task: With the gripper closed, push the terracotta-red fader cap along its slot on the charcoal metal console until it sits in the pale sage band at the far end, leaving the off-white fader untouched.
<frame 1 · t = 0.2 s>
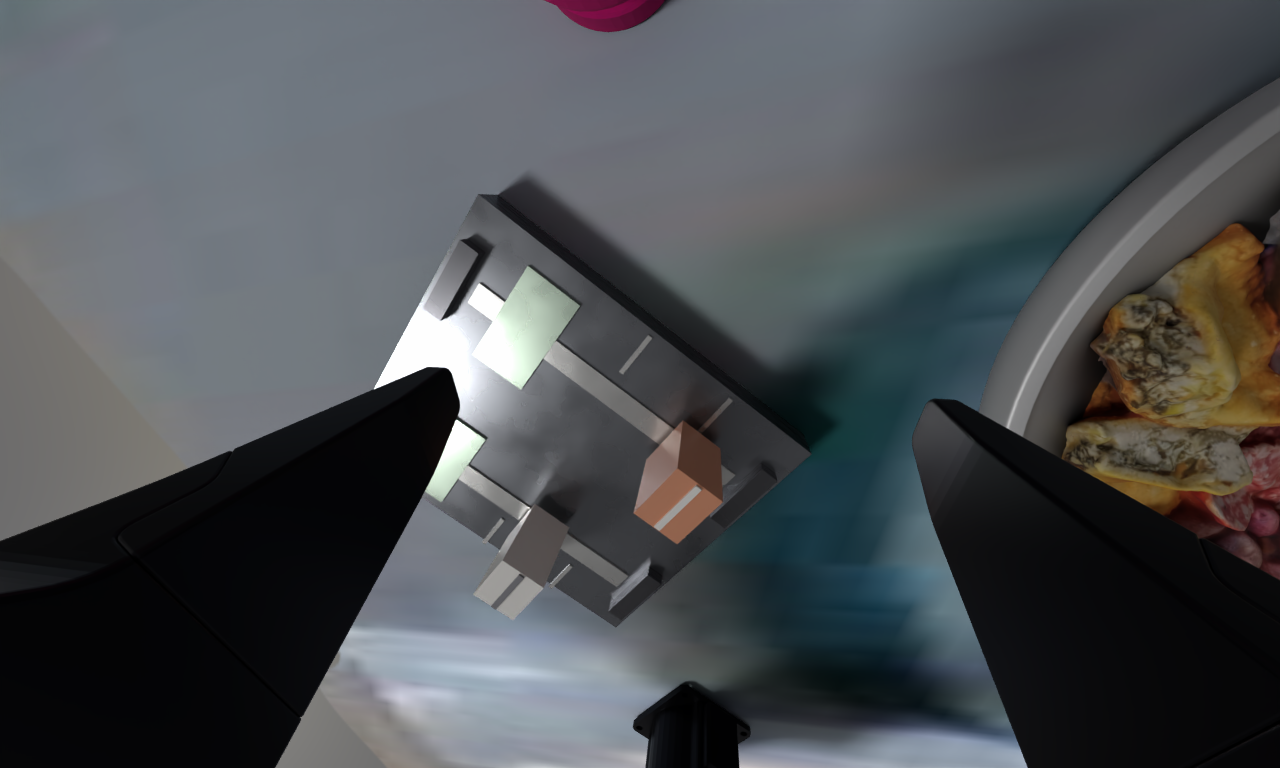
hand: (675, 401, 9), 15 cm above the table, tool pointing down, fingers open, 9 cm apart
console: (569, 432, 27), on the table
fader 1: (680, 479, 21), point 5 cm above the table, slide at -5.0 cm
fader 2: (524, 559, 24), point 5 cm above the table, slide at -2.0 cm
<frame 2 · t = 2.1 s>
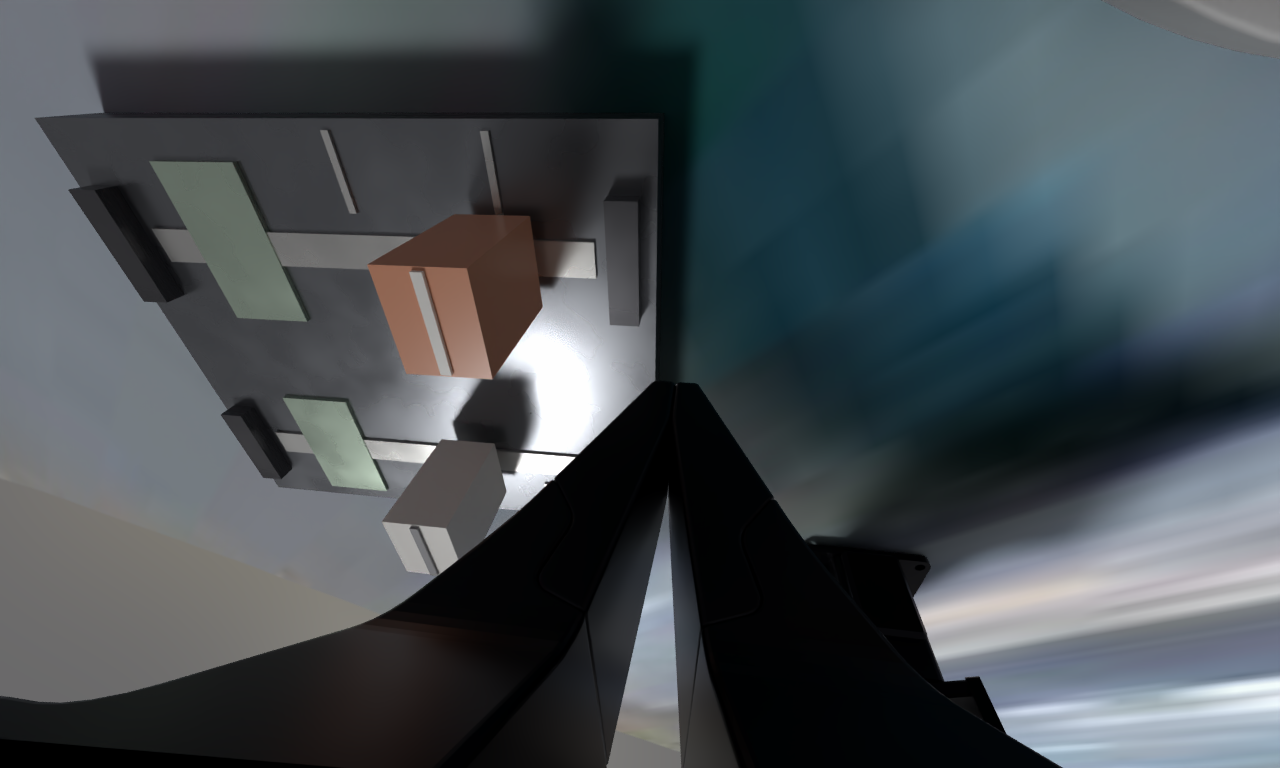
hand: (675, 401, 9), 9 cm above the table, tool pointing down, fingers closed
console: (432, 338, 20), on the table
fader 1: (471, 290, 13), point 5 cm above the table, slide at -5.0 cm
fader 2: (452, 505, 19), point 5 cm above the table, slide at -2.0 cm
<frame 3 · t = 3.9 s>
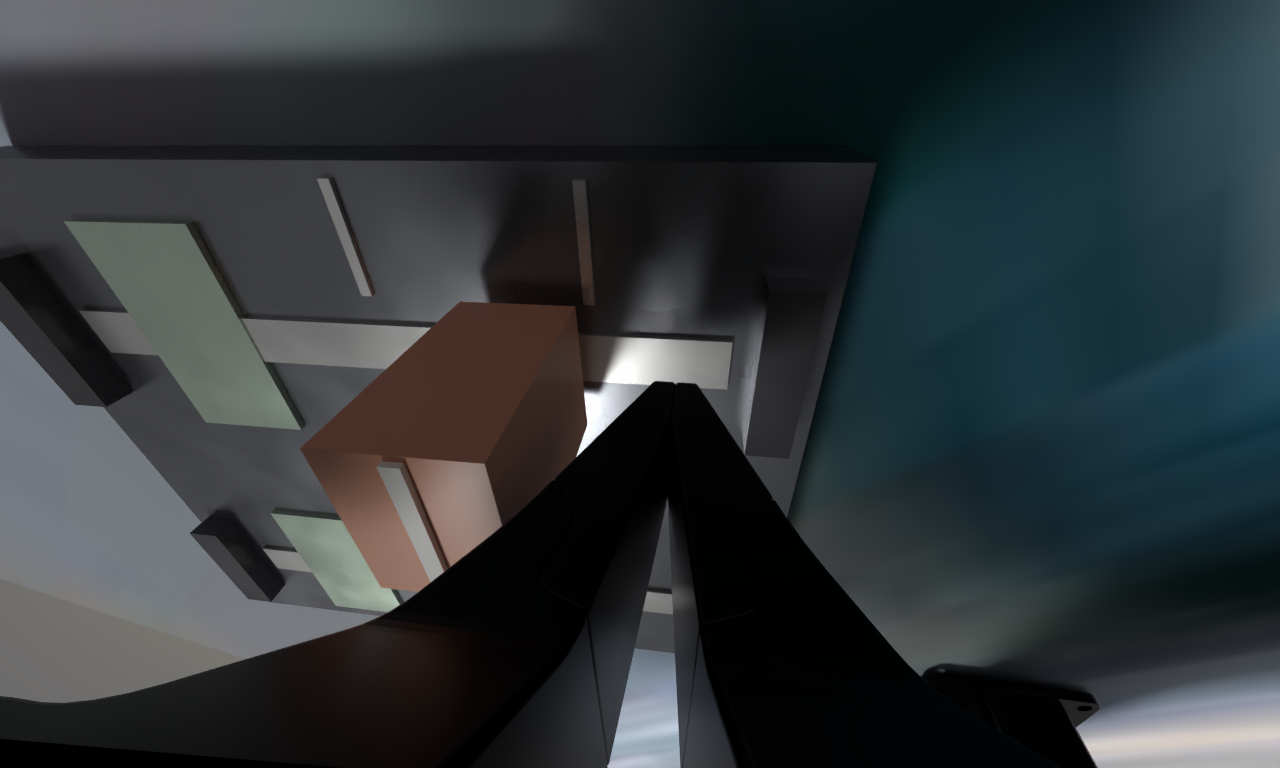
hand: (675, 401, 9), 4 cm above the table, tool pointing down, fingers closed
console: (468, 434, 15), on the table
fader 1: (486, 434, 8), point 5 cm above the table, slide at -3.6 cm, touching gripper
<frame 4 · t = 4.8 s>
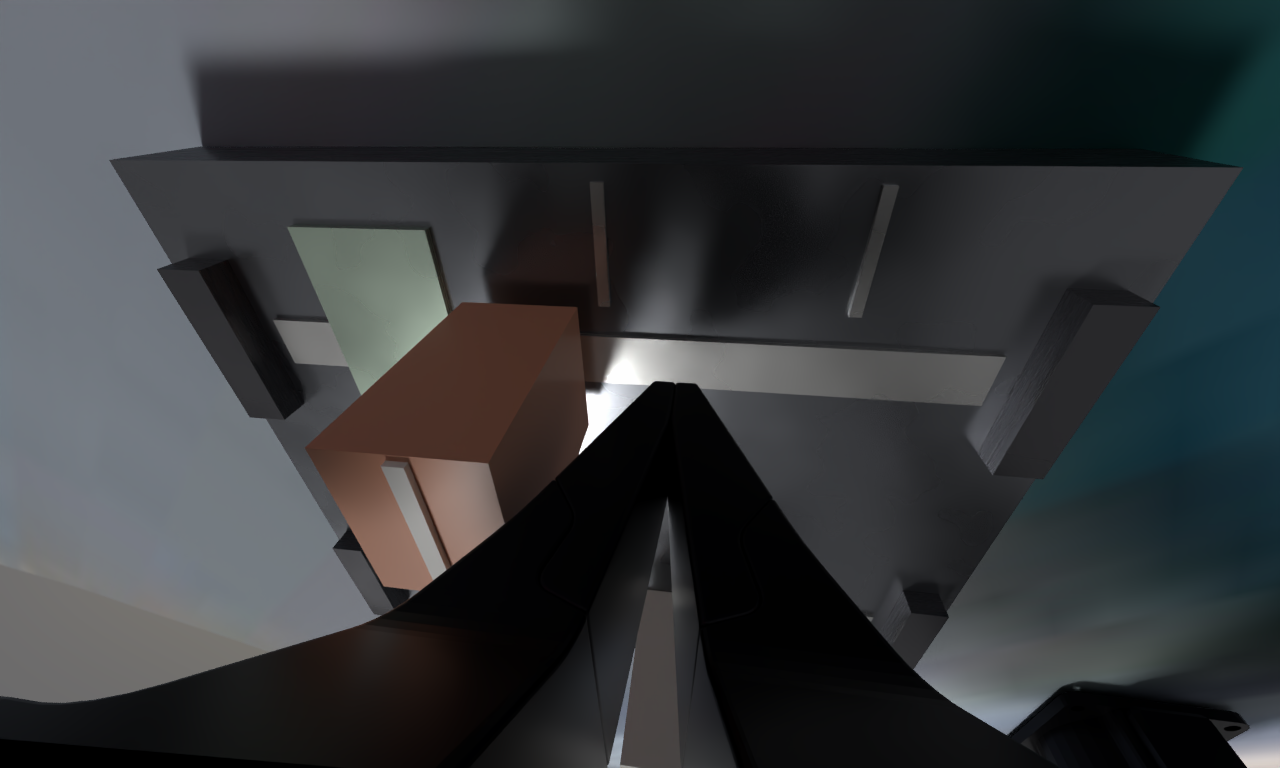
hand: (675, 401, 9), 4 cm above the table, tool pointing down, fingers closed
console: (627, 447, 14), on the table
fader 1: (489, 434, 8), point 5 cm above the table, slide at 1.6 cm, touching gripper
fader 2: (675, 696, 13), point 5 cm above the table, slide at -2.0 cm
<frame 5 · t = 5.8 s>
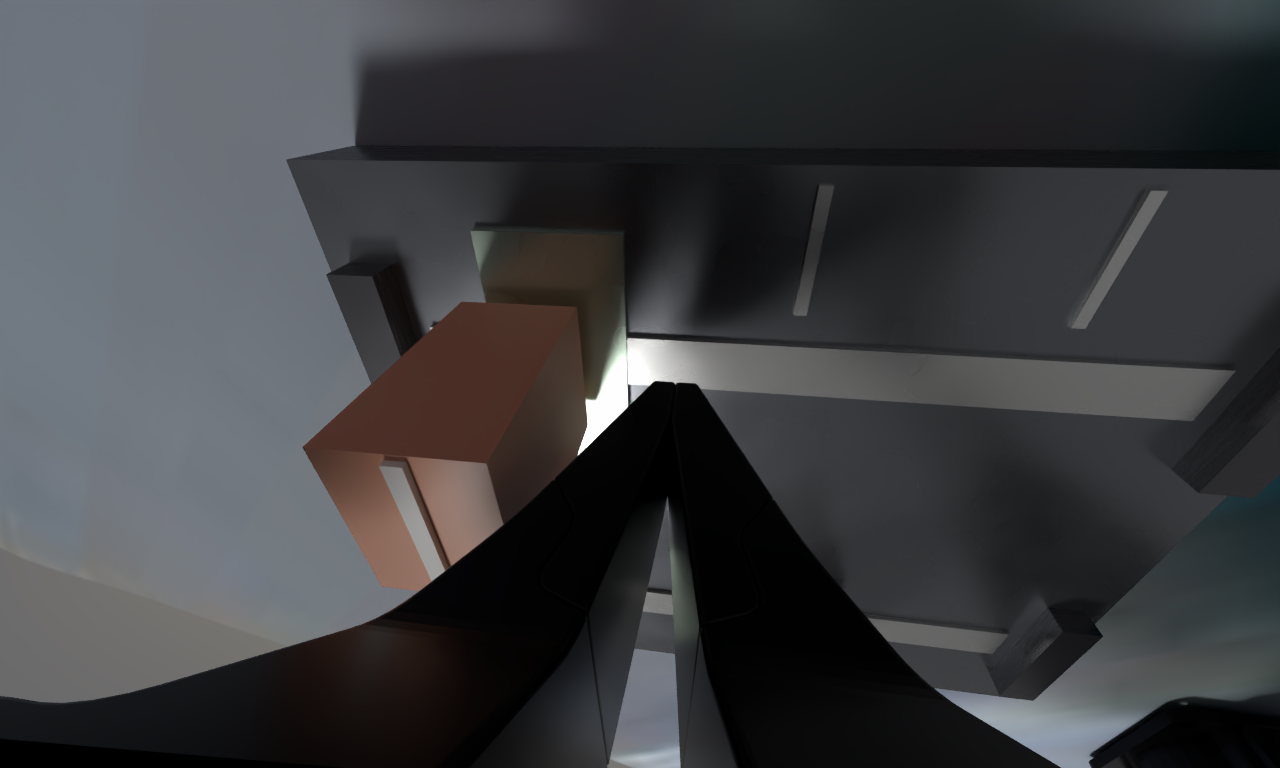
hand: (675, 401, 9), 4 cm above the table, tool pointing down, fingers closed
console: (754, 457, 14), on the table
fader 1: (488, 434, 8), point 5 cm above the table, slide at 5.6 cm, touching gripper
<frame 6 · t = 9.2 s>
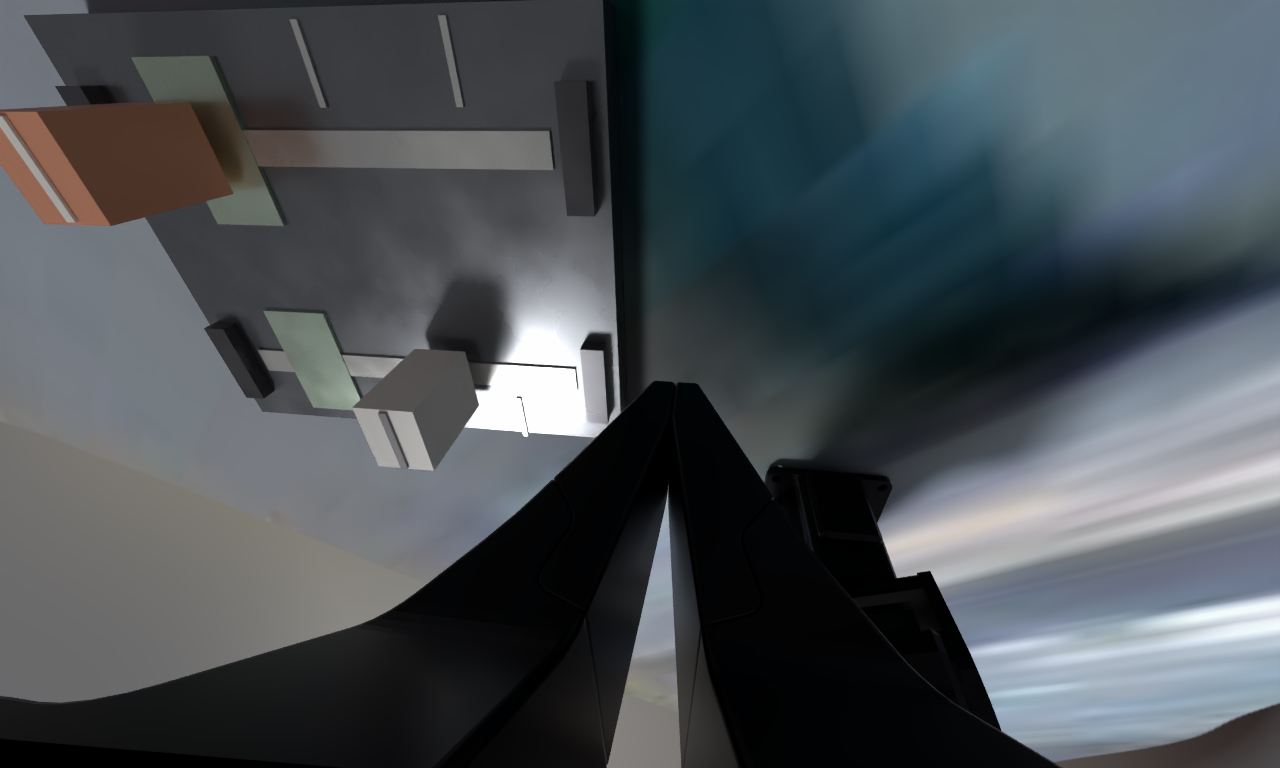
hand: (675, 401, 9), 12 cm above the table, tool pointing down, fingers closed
console: (406, 252, 21), on the table
fader 1: (119, 160, 15), point 5 cm above the table, slide at 5.8 cm
fader 2: (423, 407, 19), point 5 cm above the table, slide at -2.0 cm
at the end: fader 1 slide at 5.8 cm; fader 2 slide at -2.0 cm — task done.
